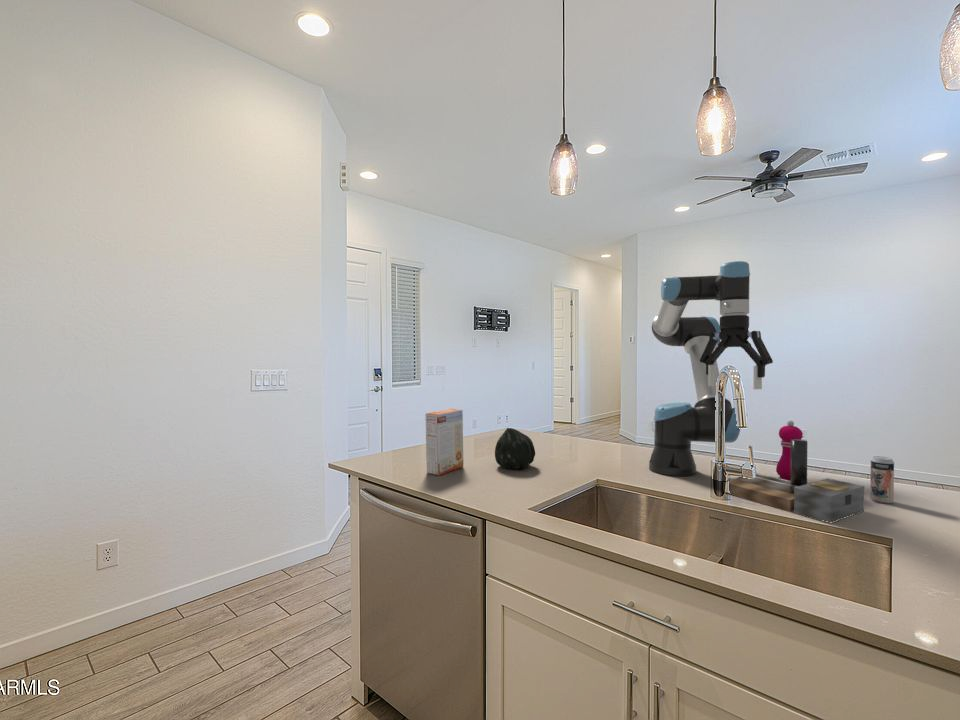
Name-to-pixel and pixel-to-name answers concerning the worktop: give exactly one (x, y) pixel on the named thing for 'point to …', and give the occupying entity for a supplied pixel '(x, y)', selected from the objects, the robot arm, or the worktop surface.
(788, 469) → the pepper mill
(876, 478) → the beer can
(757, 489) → the brown grey flat block
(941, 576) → the worktop surface
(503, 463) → the squash
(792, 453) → the black l-shaped bracket
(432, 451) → the cracker box
